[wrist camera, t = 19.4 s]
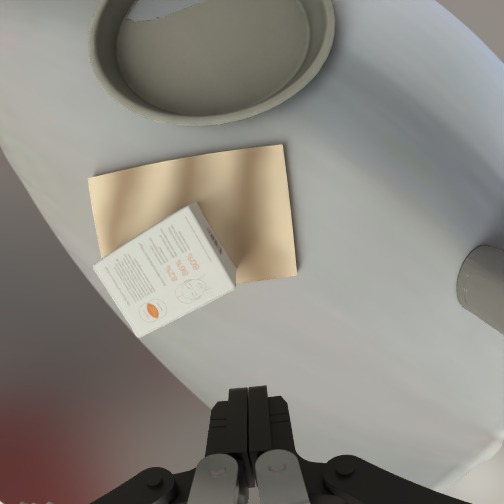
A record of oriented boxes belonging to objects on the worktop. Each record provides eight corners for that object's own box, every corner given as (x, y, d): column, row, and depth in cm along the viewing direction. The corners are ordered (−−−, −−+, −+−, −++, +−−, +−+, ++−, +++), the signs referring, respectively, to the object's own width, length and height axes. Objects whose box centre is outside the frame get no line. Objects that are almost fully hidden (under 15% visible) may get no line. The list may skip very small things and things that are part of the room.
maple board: (281, 145, 29) (282, 144, 28) (295, 272, 32) (297, 275, 31) (92, 178, 29) (87, 178, 28) (114, 294, 32) (111, 297, 31)
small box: (198, 199, 29) (112, 250, 30) (188, 204, 23) (89, 265, 24) (237, 270, 31) (152, 314, 31) (237, 290, 25) (137, 339, 26)
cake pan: (356, 4, 25) (369, -14, 21) (260, 174, 30) (264, 173, 26) (177, -59, 22) (171, -78, 18) (68, 89, 27) (48, 80, 22)
